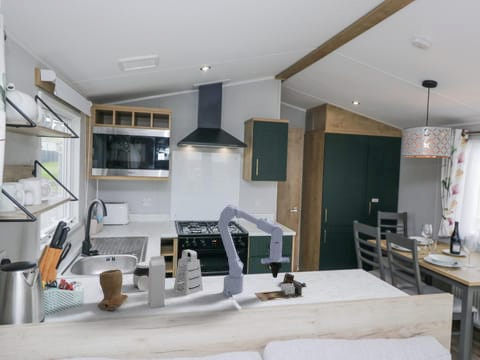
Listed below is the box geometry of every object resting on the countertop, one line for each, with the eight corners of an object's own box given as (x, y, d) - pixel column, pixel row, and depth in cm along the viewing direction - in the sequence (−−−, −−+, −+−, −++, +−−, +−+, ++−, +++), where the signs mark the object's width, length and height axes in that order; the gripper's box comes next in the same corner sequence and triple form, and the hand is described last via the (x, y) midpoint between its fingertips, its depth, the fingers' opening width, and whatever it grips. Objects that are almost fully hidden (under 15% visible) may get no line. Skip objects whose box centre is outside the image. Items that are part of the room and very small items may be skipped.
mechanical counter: (286, 271, 184) (279, 272, 176) (308, 274, 178) (301, 274, 169) (285, 285, 183) (278, 286, 174) (307, 288, 176) (301, 289, 168)
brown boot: (106, 297, 154) (107, 265, 153) (131, 298, 153) (132, 266, 152) (89, 311, 139) (90, 276, 138) (116, 312, 138) (117, 277, 137)
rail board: (261, 303, 152) (262, 290, 152) (254, 295, 162) (254, 283, 162) (303, 299, 160) (304, 286, 159) (293, 291, 169) (294, 279, 169)
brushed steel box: (287, 297, 157) (287, 289, 157) (280, 292, 164) (281, 284, 164) (300, 295, 160) (300, 287, 159) (293, 290, 166) (293, 283, 166)
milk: (148, 303, 149) (149, 255, 148) (161, 301, 151) (162, 253, 151) (150, 308, 143) (152, 258, 142) (164, 306, 146) (165, 257, 145)
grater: (186, 295, 159) (187, 254, 158) (173, 289, 166) (174, 250, 165) (202, 290, 166) (204, 251, 166) (189, 284, 174) (191, 247, 173)
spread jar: (146, 281, 176) (147, 260, 175) (160, 286, 169) (161, 264, 169) (127, 287, 166) (127, 265, 166) (141, 293, 160) (142, 269, 159)
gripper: (265, 252, 155) (264, 280, 156) (292, 251, 160) (291, 278, 161) (260, 249, 162) (258, 276, 163) (286, 247, 167) (285, 274, 167)
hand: (274, 277), depth 162 cm, fingers closed
